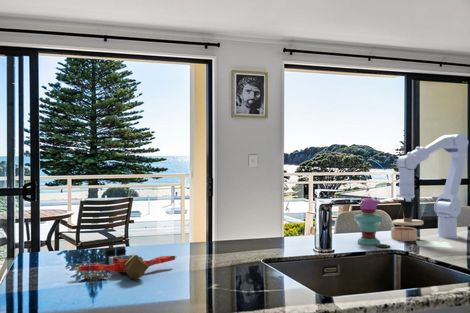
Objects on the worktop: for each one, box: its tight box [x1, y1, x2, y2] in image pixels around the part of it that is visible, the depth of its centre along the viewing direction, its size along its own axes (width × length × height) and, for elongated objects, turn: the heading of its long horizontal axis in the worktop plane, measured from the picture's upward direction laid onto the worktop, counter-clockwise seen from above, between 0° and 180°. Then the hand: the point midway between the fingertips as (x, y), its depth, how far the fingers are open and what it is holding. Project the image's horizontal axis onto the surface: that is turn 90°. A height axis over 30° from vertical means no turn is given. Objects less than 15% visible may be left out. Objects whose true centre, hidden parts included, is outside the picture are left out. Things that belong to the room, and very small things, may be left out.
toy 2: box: [354, 197, 384, 247], centre depth 180 cm, size 11×11×18 cm
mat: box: [415, 240, 454, 249], centre depth 176 cm, size 12×12×1 cm
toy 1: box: [74, 245, 178, 281], centre depth 139 cm, size 31×8×30 cm
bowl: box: [390, 226, 418, 242], centre depth 188 cm, size 10×10×4 cm
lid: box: [392, 211, 425, 227], centre depth 187 cm, size 12×12×5 cm
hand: (407, 217), depth 187 cm, fingers closed on lid, 3 cm apart
